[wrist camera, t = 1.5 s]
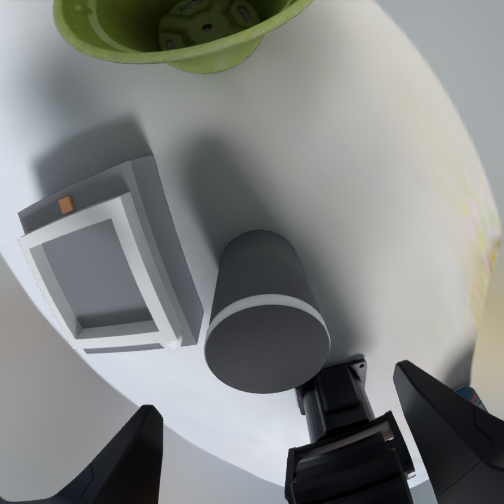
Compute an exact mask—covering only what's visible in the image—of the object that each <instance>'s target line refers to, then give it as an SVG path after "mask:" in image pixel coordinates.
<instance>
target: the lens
mask: <svg viewBox="0 0 504 504" xmlns="http://www.w3.org/2000/svg"><path fill="white" fill-rule="evenodd" d="M330 344H331V341H330V336H329V333H328V330H327V327H326V325H325V322H324V320H323V318H322V317H321V315H320V312H319V310H318V307H317V305H316V302H315V299H314V297H313V294H312V292H311V289H310V287H309V284H308V282H307V279H306V277H305V274H304V272H303V269H302V267H301V264H300V262H299V259H298V257H297V254H296V252H295V250H294V248H293V246H292V245H291V244H290V243H289V242H288V241H287V240H286V239H285V238H284V237H282V236H280V235H279V234H276V233H274V232H270V231H264V230H255V231H250V232H246V233H244V234H241V235H240V236H238V237H236V238H235V239H234V240H232V241H231V242H230V243H229V244H228V246H227V247H226V248H225V250H224V252H223V255H222V258H221V262H220V268H219V273H218V278H217V284H216V289H215V295H214V300H213V306H212V312H211V317H210V323H209V328H208V330H207V334H206V340H205V346H204V355H205V360H206V362H207V365H208V367H209V368H210V370H211V371H212V373H213V374H214V375H215V376H216V377H217V378H218V379H219V380H220V381H222V382H223V383H225V384H227V385H228V386H230V387H232V388H235V389H238V390H241V391H244V392H249V393H258V394H268V393H277V392H282V391H286V390H290V389H293V388H295V387H297V386H300V385H302V384H303V383H305V382H307V381H308V380H310V379H311V378H312V377H314V376H315V375H316V374H317V373H318V372H319V371H320V370H321V368H322V367H323V366H324V364H325V362H326V360H327V358H328V355H329V352H330Z"/></svg>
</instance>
